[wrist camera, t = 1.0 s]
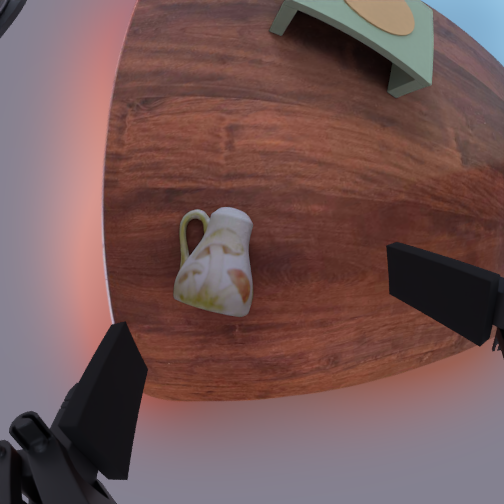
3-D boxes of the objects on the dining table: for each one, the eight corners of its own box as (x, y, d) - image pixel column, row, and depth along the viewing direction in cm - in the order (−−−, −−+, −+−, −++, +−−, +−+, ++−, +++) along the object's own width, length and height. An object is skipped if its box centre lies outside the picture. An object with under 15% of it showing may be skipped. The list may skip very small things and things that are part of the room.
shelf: (301, -32, 21) (319, -60, 14) (405, 26, 25) (433, 9, 18) (268, 31, 23) (287, -4, 16) (395, 98, 28) (433, 84, 21)
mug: (266, 208, 28) (297, 282, 21) (222, 272, 33) (236, 346, 25) (198, 181, 24) (205, 256, 17) (162, 255, 29) (160, 334, 22)
